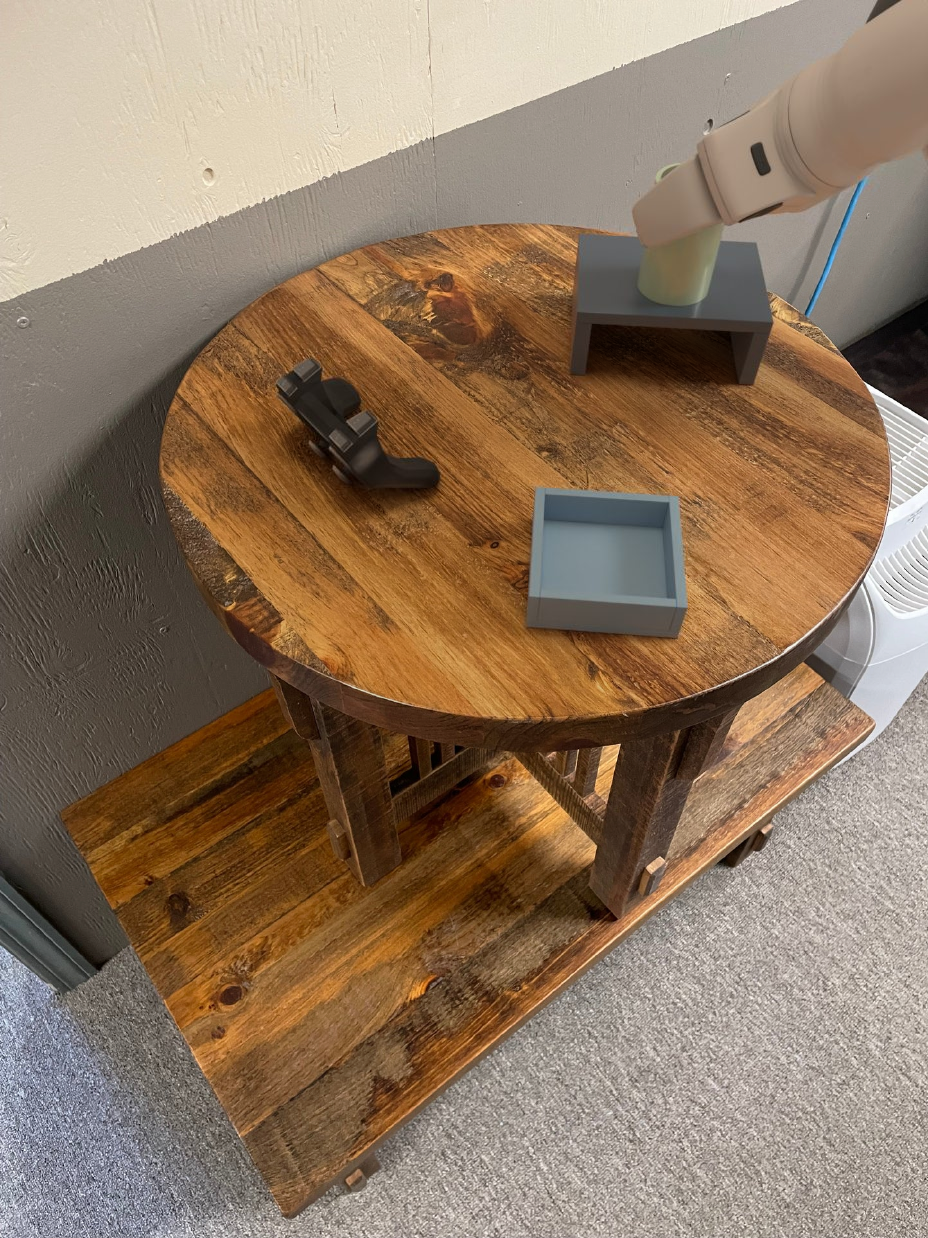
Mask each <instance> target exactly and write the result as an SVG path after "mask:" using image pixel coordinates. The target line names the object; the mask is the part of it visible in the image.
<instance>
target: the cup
mask: <svg viewBox="0 0 928 1238" xmlns="http://www.w3.org/2000/svg"><path fill="white" fill-rule="evenodd" d="M681 163H682V162H676V163H672V164H668V165H666V166H664V167H662V168H660V169H659V170H658V171H657V172H656V174H655V176H654V183H653V186H654V185H655V184H656V183H658V182H659V181H660V180H661V179H662V178H664V177H665V176H666V175H667V174H668V173H670V172H671V171H672V170H673V169H675V168H676V167H677V166H678V165H680V164H681ZM725 226H726V225H725V224H724V222H723V223H720V224H717V225H714V226H711V227H709V228H706V229H703V230H701V231H698V232H696V233H693V234H691V235H688V236H686V237H683V238H681V239H678V240H676V241H673V242H671V243H668V244H666V245H663V246H660V247H657V248H653V249H648V248H646V247H645V246H643V251H642V256H641V262H640V268H639V274H638V279H637V286H638V289H639V291H640V292H641V293H642V294H643V295H644V296H645V297H647V298H648V299H650V300H652V301H654V302H657V303H660V304H664V305H669V306H686V305H692V304H695V303H697V302H700V301H701V300H703V299H704V298H705V297H706V296H707V294H708V291H709V287H710V283H711V279H712V275H713V271H714V267H715V263H716V259H717V255H718V251H719V247H720V243H721V241H722V238H723V234H724V231H725Z"/></svg>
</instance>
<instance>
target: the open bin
mask: <svg viewBox="0 0 928 1238" xmlns="http://www.w3.org/2000/svg"><path fill="white" fill-rule="evenodd" d="M533 500H534V501H533V511H532V522H531V523H532V524H531V539H530V554H529V555H530V556H529V571H528V573H529V574H528V587H527V603H526V617H525V618H526V620H525V627H526V628H535V629H547V630H548V629H549V630H550V629H551V630H562V631H576V632H589V633H604V634H617V635H630V636H644V637H656V638H657V637H658V638H669V639H678V638H679V635H680V632H681V629H682V626H683V623H684V621H685V617H686V614H687V611H688V609H689V607H688V594H687V593H688V592H687V582H686V570H685V569H686V568H685V558H684V546H683V535H682V533H683V532H682V521H681V509H680V508H681V507H680V497H679V495H669V494H668V495H667V494H666V495H665V494H652V493H651V494H650V493H636V492H635V493H634V492H621V491H620V492H619V491H606V490H590V489H577V488H576V489H574V488H560V487H545V486H535V489H534V499H533Z"/></svg>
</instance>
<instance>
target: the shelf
mask: <svg viewBox="0 0 928 1238" xmlns="http://www.w3.org/2000/svg"><path fill="white" fill-rule="evenodd" d="M642 251H643V245H642V244H641V243H640V240H639V238H638V236H631V235H614V234H613V235H612V234H611V235H610V234H593V233H592V234H590V233H578V240H577V246H576V258H575V266H574V275H573V276H574V277H573V284H572V292H571V293H572V294H571V320H570V321H571V322H570V323H571V325H570V353H569V355H570V356H569V357H570V358H569V375H573V376H575V375H576V376H577V375H578V376H585V375H586V371H587V370H586V369H587V364H588V363H587V362H588V356H589V349H590V340H591V334H592V325H612V326H627V327H628V326H629V327H647V328H648V327H649V328H663V329H664V328H665V329H683V330H684V329H686V330H699V331H701V330H702V331H723V332H729V334H730V340H731V346H732V347H731V348H732V354H733V359H734V365H735V371H736V377H737V382H738V383H737V384H738V385H751V386H754V384H755V382H756V378H757V376H758V372H759V370H760V366H761V363H762V360H763V357H764V354H765V351H766V348H767V344H768V341H769V338H770V335H771V332H772V329H773V326H774V324H775V323H774V318H773V317H774V316H773V313H772V308H771V303H770V299H769V295H768V289H767V284H766V280H765V275H764V271H763V266H762V261H761V256H760V252H759V248H758V243H757V241H756V242H755V241H732V240H721V243H720V247H719V251H718V255H717V259H716V263H715V267H714V271H713V275H712V279H711V283H710V287H709V291H708V294H707V296H706V297H705V298H704V299H703V300H701V301H700V302H697V303H695V304H692V305H686V306H669V305H664V304H660V303H657V302H654V301H652V300H650V299H648V298H647V297H645V296H644V295H643V294H642V293H641V292H640V291H639V289H638V286H637V279H638V274H639V268H640V262H641V256H642Z"/></svg>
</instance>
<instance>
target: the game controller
mask: <svg viewBox="0 0 928 1238" xmlns="http://www.w3.org/2000/svg"><path fill="white" fill-rule="evenodd" d="M291 369H292V370H291V371H289V372H288V373H287V374H285V375H283V374H282V375H281V376H280V377H279V378H278V379H277V380H276V381H275V383H276V384H275V386H276V388H277V390H278V391H277V394H276V396H277V398H278V400H280V401H281V402H282V403H283V404H284V405H285V406H286V407H287V408H288V409H289V410H290V411H291V412H292V413H293V414H294V416H296V417H297V418H298V419H299V420H300V421H301V422H302V423H303V424H304V425H305V426H306V427H307V428H308V429H309V430H310V431H311V432H312V433H313V434H314V435H315V436H317V438H318V439H319V440H320V441H319V442H318V443H317V444H316V443H315V442H314V441H313V440H311V439H308V445H309V447H310V448H311V450H312V451H313V452H314V454H316V455H317V456H319V458H322V459H324V460H326V459H328V458H329V457H328V455H327V454H326V453H325V452H324V450H325V449H326V448H328V451H329V452H330V453H332V455H333V456H334V457H335V458H336V459H337V460H338V461H339V462H340V463H341V464H342V465H343V467H342V469H340V468H339V467H337V466H336V465H335V464H332V471H333V472H334V473H335V475H336V476H337V478H338V479H339V480H341V481H342V482H344V483H345V484H346V485H351V484H353V481H351V479H350V478H349V477H348V475H350V473H351V474H352V475H353V476H354V477H355V478H356V479H357V480H358V481H359V482H360V483H361V484H362V485H363V486H364V487H365V488H367V489H368V491H371V490H373V489H428V488H433V487H437V486H438V485H439V484H440V483H441V472H440V470H439V468H438V466H437V465H436V463H435V462H434V461H432V460H429V459H427V458H425V457H422V456H414V457H413V456H411V457H397V456H394V455H390V454H387V453H385V451H384V448H383V447H382V444H381V442H380V438H379V437H378V429H379V419H378V418H376V416H375V415H373V413H372V412H371V411H369V410H367V411H365V410H362V411H361V412H359V413H358V414H356V415H355V416H353V417H351V418H349V419H348V420H347V419H346V418H345V417H346V416H348V415H350V414H352V413H353V412H355V411H357V410H358V409H359V408H360V407H361V404H362V399H361V397H360V394H359V392H358V390H356V388H355V387H354V385H352V384H351V383H350V382H349V381H348V380H346V379H344V378H341V377H330V378H328V379H323V380H322V378H323V377H322V376H323V366H322V365H321V364H320V363H319V362H318V361H317V360H316V359H315V358H311V359H310V358H309V357H308V358H306V359H305V360H302V361H301V362H299V363H297V364H296V365H295V366H293V367H291Z"/></svg>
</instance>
